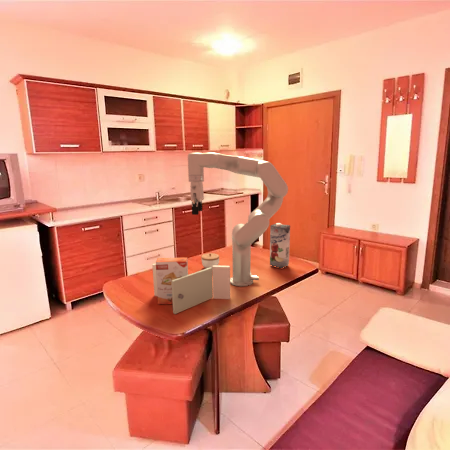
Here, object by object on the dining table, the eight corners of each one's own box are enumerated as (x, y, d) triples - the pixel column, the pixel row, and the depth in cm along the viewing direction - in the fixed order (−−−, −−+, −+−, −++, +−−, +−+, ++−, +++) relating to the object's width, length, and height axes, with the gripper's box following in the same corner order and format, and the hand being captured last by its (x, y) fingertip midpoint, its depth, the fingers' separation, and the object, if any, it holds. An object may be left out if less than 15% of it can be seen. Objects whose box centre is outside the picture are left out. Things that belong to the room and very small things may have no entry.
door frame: (230, 297, 152) (230, 265, 149) (229, 299, 151) (229, 267, 147) (155, 294, 157) (153, 263, 153) (154, 295, 155) (152, 264, 151)
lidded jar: (197, 269, 190) (197, 254, 188) (208, 264, 198) (208, 249, 196) (212, 272, 184) (212, 257, 182) (222, 267, 193) (222, 252, 190)
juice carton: (276, 262, 200) (277, 220, 194) (290, 266, 192) (292, 222, 186) (267, 266, 193) (268, 222, 187) (282, 270, 186) (283, 225, 180)
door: (211, 296, 152) (210, 267, 149) (215, 298, 150) (214, 268, 147) (173, 313, 137) (171, 280, 134) (177, 315, 135) (175, 282, 132)
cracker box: (157, 305, 145) (154, 261, 141) (159, 299, 151) (157, 257, 147) (188, 304, 146) (186, 260, 141) (189, 298, 152) (187, 256, 147)
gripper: (200, 180, 148) (201, 216, 152) (206, 177, 165) (207, 209, 168) (184, 180, 149) (185, 215, 153) (192, 177, 165) (193, 209, 169)
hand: (197, 212), depth 160 cm, fingers open, 9 cm apart
